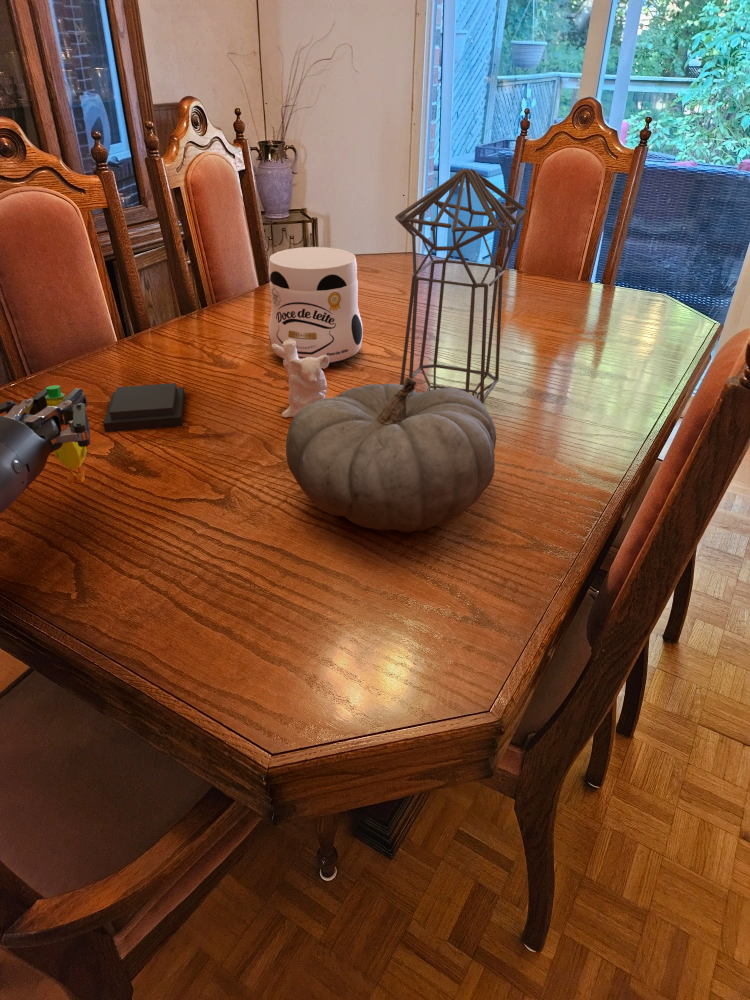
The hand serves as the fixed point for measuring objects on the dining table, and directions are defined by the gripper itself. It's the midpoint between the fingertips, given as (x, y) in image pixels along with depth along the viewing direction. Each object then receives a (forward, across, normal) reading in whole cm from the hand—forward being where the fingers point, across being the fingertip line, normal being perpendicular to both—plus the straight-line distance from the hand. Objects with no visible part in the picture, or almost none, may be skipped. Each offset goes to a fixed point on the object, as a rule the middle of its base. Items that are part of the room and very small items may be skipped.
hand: (66, 395), depth 79 cm
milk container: (+49, +22, -13) cm, 55 cm away
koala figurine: (+24, +24, -14) cm, 37 cm away
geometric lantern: (+27, +47, -13) cm, 56 cm away
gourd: (0, +39, -14) cm, 41 cm away
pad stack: (+21, 0, -13) cm, 25 cm away
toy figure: (-3, 0, -10) cm, 11 cm away
